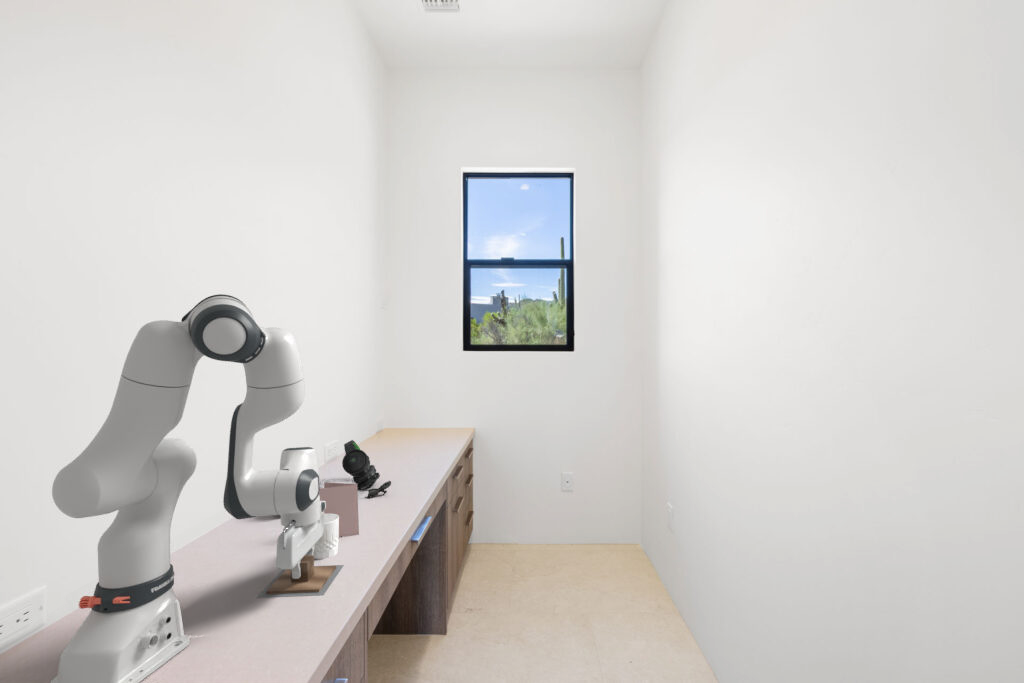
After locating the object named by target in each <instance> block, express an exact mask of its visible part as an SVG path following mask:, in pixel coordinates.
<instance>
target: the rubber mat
mask: <svg viewBox="0 0 1024 683" xmlns="http://www.w3.org/2000/svg"><path fill="white" fill-rule="evenodd" d="M330 566H336V569H335V570H334V572H333V573H332V575H331V576H330V577H329V579H328V580H327V582H326V583H325V584H324V586H323V587H322V589H321V590H320V591H319V592H306V593H281V594H266V591H267V590H268V589H269V588H270V587H271V586H272V585H273V583H274V582H275V581H276V580H277V579H278V578H279V577H280V576H281V575H282V574H283V573H284V571H285V570H286V569H282V570H280V572H278V574H277V575H276V576H275V577H274V578H273V579H272V580H271V581H270V583H269V584H267V586H266V587H265V588H264V589H263V590H262V591H261V592H260V594H259V595H257V596H256V599H263V598H264V599H265V598H266V599H267V598H291V597H292V598H293V597H313V596H314V597H315V596H316V597H317V596H324V595H325V594H326V592H327V591H328V589H329V588H330V587H331V585H332V584H333V582H334V581H335V579H336V577H337V576H338V575H339V573H340V572H341V570H342V569H343V567H344V564H340V565H339V564H337V565H335V564H334V565H333V564H332V565H330Z"/></svg>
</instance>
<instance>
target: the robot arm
mask: <svg viewBox="0 0 1024 683" xmlns="http://www.w3.org/2000/svg"><path fill="white" fill-rule="evenodd" d="M295 338H296V337H295V336H294V334H293V333H292V332H290V331H288V330H287V329H283V328H279V327H261V326H259V325H258V324H257V322H256V320H255V318H254V316H253V314H252V312H251V311H250V309H249V308H248V307H247V305H246V304H245V303H244V302H243V301H241V300H240V299H238V298H237V297H235V296H233V295H229V294H214V295H210V296H207V297H205V298H204V299H202V300H200V301H199V302H198V303H196V304H195V306H194V307H193V308H191V309H190V310H189V311H188V312H187V313H186V314H184V315H183V317H181V321H174V320H165V319H164V320H154V321H150V322H147V323H145V324H144V325H143V326H141V327H140V329H139V330H138V331H137V334H136V336H135V337H134V339H133V341H132V343H131V345H130V348H129V350H128V353H127V355H126V358H125V361H124V364H123V367H122V371H121V375H120V377H119V378H120V379H119V382H118V384H117V389H116V392H115V396H114V400H113V402H112V406H111V408H110V411H109V413H108V415H107V417H106V419H105V421H104V423H103V424H102V426H101V427H100V428H99V430H98V432H97V433H96V434H95V436H94V437H93V439H92V440H91V441H90V443H89V444H88V445H87V446H86V447H85V448H84V449H83V451H82V452H81V453H80V454H79V455H78V456H77V457H76V458H74V459H73V460H72V461H70V463H68V464H67V465H66V466H65V465H64V467H63V468H62V469H60V470H59V471H58V473H57V474H56V476H55V477H54V480H53V483H52V486H51V487H52V488H51V489H52V490H51V496H52V500H53V502H54V504H55V505H56V507H57V509H58V510H59V511H60V512H62V513H63V514H64V515H66V516H67V517H70V518H72V519H84V518H91V517H97V516H98V517H99V516H103V515H108V514H112V513H114V512H116V511H117V514H116V516H115V518H114V519H113V521H112V523H111V524H110V525H109V526H108V527H107V529H106V530H105V531H104V532H103V533H102V535H101V536H100V538H99V540H98V543H97V567H98V568H97V570H98V571H97V573H98V581H97V583H96V585H95V588H94V591H93V595H92V596H90V595H84V596H82V597H81V598H80V599H79V601H78V608H79V609H87V608H89V609H91V610H90V611H89V614H88V615H87V616H86V617H85V619H84V620H83V622H82V624H81V625H80V626H79V627H78V629H77V631H76V632H75V633H74V635H73V637H72V638H71V639H70V641H69V642H68V644H67V645H66V647H65V648H64V650H63V651H62V652H61V654H60V657H59V662H58V669H57V670H58V671H57V675H56V676H55V677H54V678H53V679H52V680H51V681H50V682H49V683H141V682H142V681H144V679H146V678H147V677H148V676H150V675H152V673H154V672H155V671H157V670H158V669H159V668H160V667H161V666H163V665H164V664H165V663H167V662H168V661H170V660H171V659H172V658H174V657H175V656H176V655H177V654H179V653H180V652H182V651H183V650H184V649H185V648H187V647H188V646H189V645H190V643H191V642H190V637H189V636H188V635H186V634H185V632H184V625H183V624H184V623H183V618H182V610H181V606H180V601H179V600H178V598H177V597H176V593H175V592H174V590H173V586H174V584H175V571H174V566H173V564H172V563H171V528H172V521H173V518H174V517H173V516H174V513H175V509H176V507H177V503H178V500H179V498H180V495H181V493H182V491H183V488H184V487H185V486H186V484H187V482H188V480H190V478H191V477H192V476H193V474H194V473H195V471H196V468H197V454H196V451H195V450H194V448H193V446H192V445H191V444H190V443H189V442H187V441H186V440H184V439H181V438H167V437H166V436H167V435H169V433H170V432H171V431H173V430H174V429H175V428H176V427H177V426H178V425H179V423H180V422H181V420H182V418H183V415H184V411H185V408H186V404H187V399H188V396H189V393H190V388H191V385H192V380H193V376H194V372H195V369H196V367H197V365H198V362H199V361H200V360H201V358H202V357H206V358H208V359H209V358H210V359H211V360H215V361H220V362H229V363H230V362H231V363H238V364H242V365H243V368H244V374H245V375H244V376H245V381H246V382H245V383H246V394H245V398H244V400H243V402H242V403H239V404H238V405H237V406H236V407H235V409H234V411H233V414H232V416H231V421H230V430H229V437H228V440H229V441H228V453H227V454H228V456H227V472H226V480H225V484H224V485H225V487H224V493H223V502H222V503H223V508H224V510H225V511H226V512H227V513H228V514H229V515H231V516H232V517H233V518H234V519H236V520H244V519H251V518H257V517H264V516H265V517H266V516H279V515H280V514H281V516H280V525H281V526H283V530H282V532H281V533H280V534H279V535H278V538H277V542H276V568H277V569H278V570H280V571H282V570H283V569H291V571H292V578H293V579H298V578H300V576H301V575H302V568H300V560H301V559H302V558H303V557H304V556H310V555H313V551H314V544H315V543H316V542H317V541H318V540H319V539H320V538H321V537H322V535H323V532H324V510H325V508H326V502H325V501H320V496H319V490H320V489H321V488H320V487H321V486H320V468H319V462H318V456H317V452H316V449H315V448H313V447H310V446H304V447H303V446H302V447H301V446H300V447H287V448H285V449H283V450H281V455H280V461H279V463H280V464H279V469H274V470H257V469H255V468H253V456H254V454H253V453H254V452H253V451H254V441H255V440H254V439H255V435H256V434H257V433H259V432H260V431H263V430H264V429H267V428H268V427H271V426H274V425H276V424H279V423H281V422H283V421H285V420H287V419H289V418H290V417H291V416H293V415H294V414H295V413H297V411H298V410H299V409H300V408H301V406H302V405H303V403H304V401H305V395H306V394H305V390H306V388H305V385H306V384H305V375H304V369H303V362H302V357H301V353H300V350H299V347H298V343H297V340H296V339H295ZM165 437H166V438H165Z"/></svg>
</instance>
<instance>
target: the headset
mask: <svg viewBox="0 0 1024 683" xmlns="http://www.w3.org/2000/svg"><path fill="white" fill-rule="evenodd" d="M343 446H344V452H345V455H344V456H343V458H342V461H341V463H342V468H343V470H344V472H346V473H347V474H349V475H350V476H352V479H353V482H354V484H357V489H359V490H361V491H364V492H368V493H367V498H375V497H377V495H378V494H380V493H383V494H382V495H385V494H387V493H388V490H386V489H388V488H389V487H390V486H391V485H392V481H391V480H388V481H386V482H383V484H381V485H380V487H378V488H374V487H373V488H370V487H372V486H373V485H374V484H375V483H376V482H377V480H378V479H379V478H380V477H381V475H380V472H377V469H376V466H375V465H374V464H371V461H370V457H369V455H367V453H366V452H365V451H363V450H362V449H361V448H360V446H359V445H358V444H357V443H356V441H355V440H354V439H351V440H350V441H347V442H346V443H344V444H343ZM367 488H370V489H367Z"/></svg>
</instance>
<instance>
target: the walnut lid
mask: <svg viewBox="0 0 1024 683" xmlns="http://www.w3.org/2000/svg"><path fill="white" fill-rule="evenodd" d="M300 568H302V575H301V576H300V578H298V579H293V578H292V571H291V569H286V570H285V571H284V573H283V574H282V575H281V576H280V577H279V578H278V579H277V580H276V581H275V582H274V583H273V585H272V586H271V587H270V588H269V589H268V590H267V591H266V594H281V593H306V592H319V591H320V590H321V589H322V587H323V586H324V584H325V583H326V582H327V580H328V579H329V577H330V576H331V575H332V573H333V572H334V570H335V569H336V566H331V565H315V559H314V555H310V556H304V557H303V558H302V559H301V560H300Z"/></svg>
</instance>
